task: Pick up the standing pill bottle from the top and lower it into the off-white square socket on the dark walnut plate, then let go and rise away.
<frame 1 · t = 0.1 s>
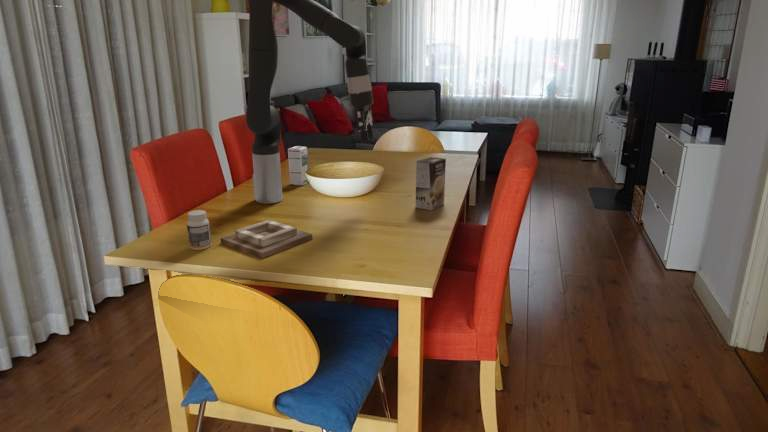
hand: (367, 140, 175), 22 cm above the table, tool pointing down, fingers open, 8 cm apart
syrup box: (299, 183, 210), on the table
pill bottle: (201, 247, 145), on the table
socket block: (267, 240, 149), on the table
coffee box: (430, 206, 180), on the table
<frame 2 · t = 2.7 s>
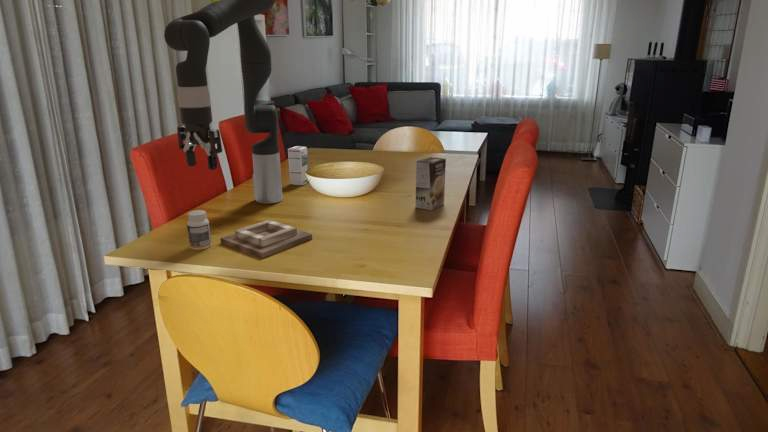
hand: (202, 167, 138), 22 cm above the table, tool pointing down, fingers open, 8 cm apart
nothing on the table moved.
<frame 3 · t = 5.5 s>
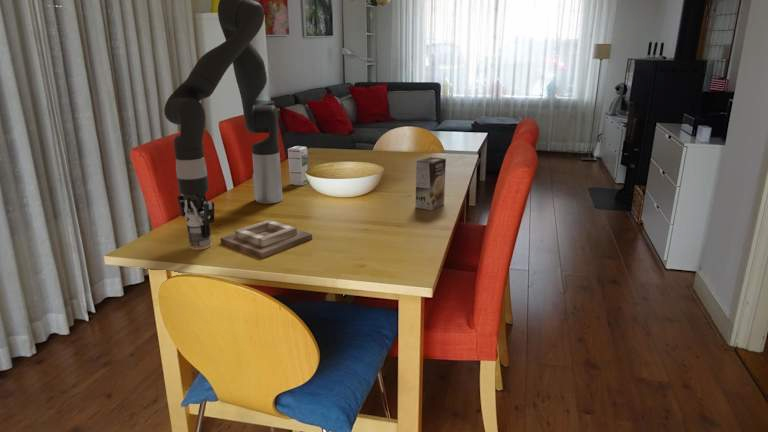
hand: (199, 234, 144), 4 cm above the table, tool pointing down, fingers closed on pill bottle, 5 cm apart
pill bottle: (201, 247, 145), on the table, touching gripper
everything else where it was.
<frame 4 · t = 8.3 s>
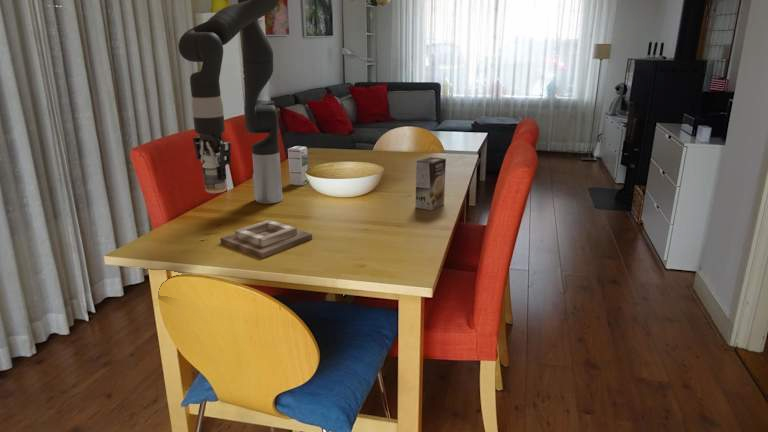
hand: (215, 177, 141), 19 cm above the table, tool pointing down, fingers closed on pill bottle, 5 cm apart
pill bottle: (216, 191, 142), point 15 cm above the table, touching gripper
everything else where it was.
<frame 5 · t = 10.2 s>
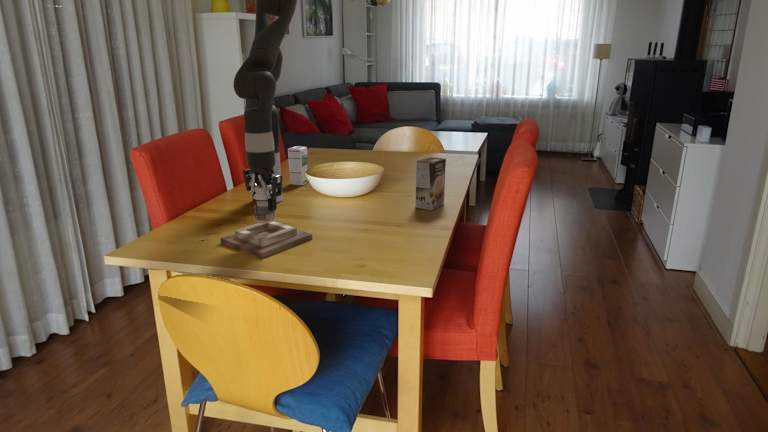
hand: (264, 208, 146), 10 cm above the table, tool pointing down, fingers closed on pill bottle, 5 cm apart
pill bottle: (265, 221, 147), point 6 cm above the table, touching gripper
everything else where it was.
when the fingers open (6 cm above the table, at t = 11.5 s): pill bottle stays where it is, resting on socket block.
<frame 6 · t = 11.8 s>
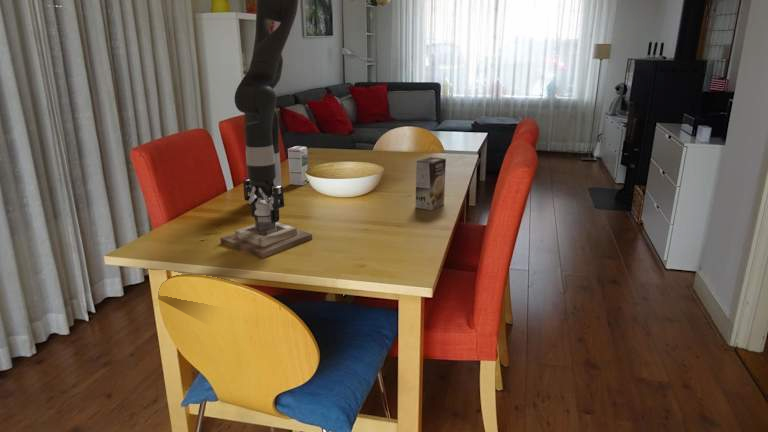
hand: (265, 219, 147), 7 cm above the table, tool pointing down, fingers open, 8 cm apart
pill bottle: (266, 236, 149), point 1 cm above the table, touching socket block
everything else where it was.
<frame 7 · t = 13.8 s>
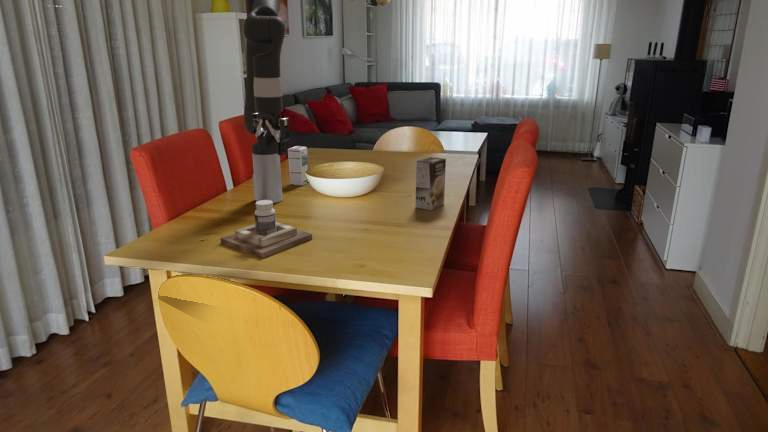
hand: (271, 152, 149), 24 cm above the table, tool pointing down, fingers open, 8 cm apart
nothing on the table moved.
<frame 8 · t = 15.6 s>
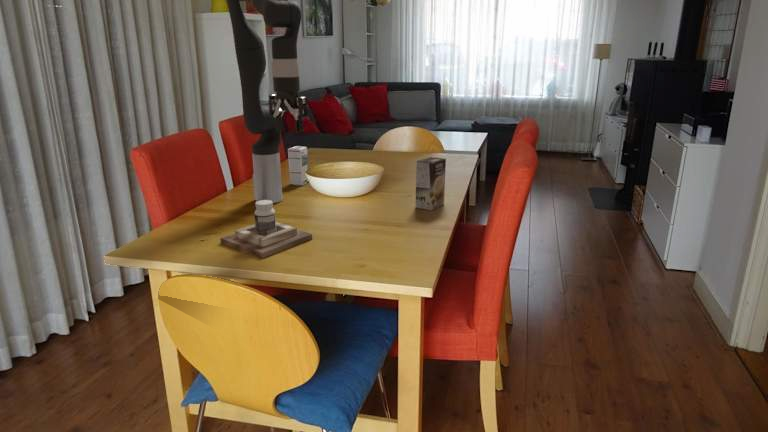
hand: (289, 131, 157), 28 cm above the table, tool pointing down, fingers open, 8 cm apart
nothing on the table moved.
at the end: pill bottle 0.1 cm from the socket block (horizontally); pill bottle tilted 0°; the gripper is holding nothing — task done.
